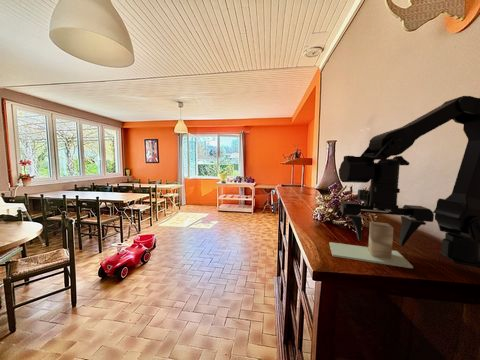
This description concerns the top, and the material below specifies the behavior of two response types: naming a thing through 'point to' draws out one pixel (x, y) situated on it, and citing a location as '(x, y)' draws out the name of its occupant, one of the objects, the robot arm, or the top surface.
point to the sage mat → (366, 255)
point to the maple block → (380, 240)
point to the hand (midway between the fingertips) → (379, 242)
